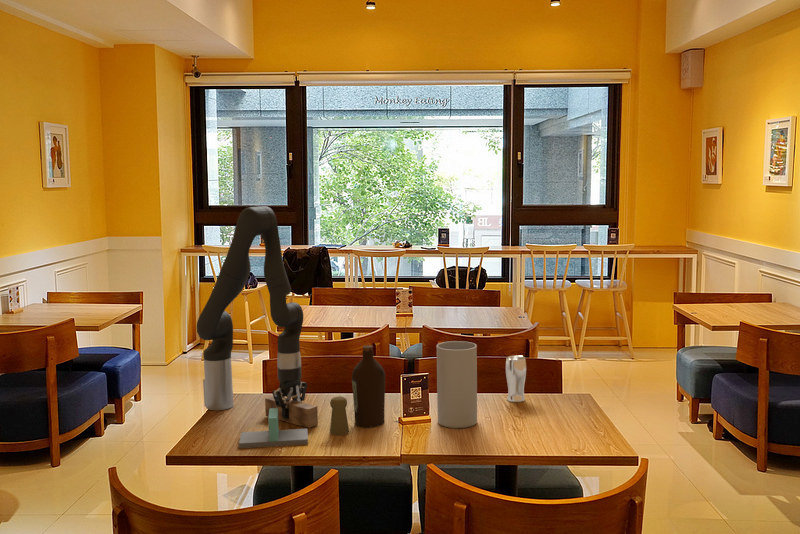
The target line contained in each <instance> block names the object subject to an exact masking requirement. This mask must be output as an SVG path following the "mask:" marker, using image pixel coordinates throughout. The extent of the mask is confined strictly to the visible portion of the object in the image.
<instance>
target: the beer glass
mask: <svg viewBox="0 0 800 534" xmlns="http://www.w3.org/2000/svg"><path fill="white" fill-rule="evenodd" d="M505 375H506V382H507V388H508V389H507V390H508V391H507V392H508V393H507V397H506V398H507V399H506V400H507V401H508V402H511V403H522V402H525V401H526V397H525V382H526V375H527V362H526V357H525V356H523V355H509V356H506V361H505Z"/></svg>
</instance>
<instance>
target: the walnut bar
mask: <svg viewBox="0 0 800 534" xmlns="http://www.w3.org/2000/svg"><path fill="white" fill-rule="evenodd" d="M285 402H286V401H285ZM264 405H265V406H264V407H265V417H267V418H268V417H269V409H270V408H278V421H283V422H285V423H289V424H294V425H297V426H301V427H304V428H307V429H310V428H313V427H315V426H317V425H318V426H319V421H318V420H319V419H318V418H319V415H318V414H319V412H318V411H319V410H318V406H317V405H313V404H310V403H306V402H303V401H301V402H298V401H294V400H292V399H291V400H290V401H289V406H288V408H289V419H284V418H283V417H282V408H281V407H277V406H276V403H275V400H274V397H273V395H271V396H269V397H265V398H264Z"/></svg>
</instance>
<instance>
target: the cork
mask: <svg viewBox="0 0 800 534" xmlns="http://www.w3.org/2000/svg"><path fill="white" fill-rule="evenodd" d="M329 403H330V407H331V418H330V426H329V434H330V435H333V436H344V434H345V435H347V433H348V432H349V433H350V428H349V423H348V422H349V421H348V415H347V410H346V408H347V406H348V399H346V397H345V396H333V397H332V398H331V399H330V402H329ZM349 433H348V434H349Z"/></svg>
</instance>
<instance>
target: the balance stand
mask: <svg viewBox="0 0 800 534" xmlns="http://www.w3.org/2000/svg"><path fill="white" fill-rule="evenodd" d="M267 418H268V422H267V424H268V430H259V431H242V432H241V433H240V438H239V441H238V442H239V443H238V448H239V449H250V448H251V449H252V448H267V447H284V446H301V445H308V444H309V436H308V434H309V433H308V428H307V427H305V428H295V429H294V428H292V429H279V420H278V408H270V409H269V417H267Z"/></svg>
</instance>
